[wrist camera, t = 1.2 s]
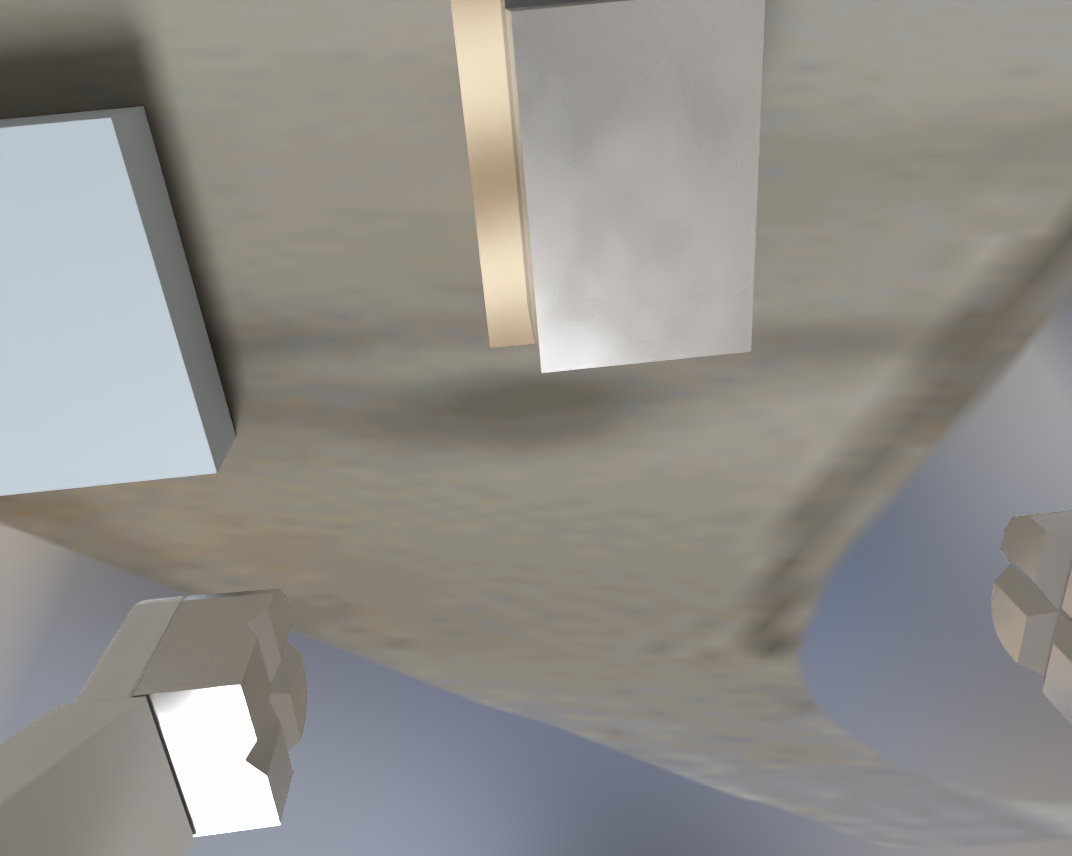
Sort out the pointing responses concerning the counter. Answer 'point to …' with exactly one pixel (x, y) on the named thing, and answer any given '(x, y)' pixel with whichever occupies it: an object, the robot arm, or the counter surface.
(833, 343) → the counter surface
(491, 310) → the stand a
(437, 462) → the counter surface
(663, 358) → the block
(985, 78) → the counter surface
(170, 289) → the stand
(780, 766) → the counter surface
